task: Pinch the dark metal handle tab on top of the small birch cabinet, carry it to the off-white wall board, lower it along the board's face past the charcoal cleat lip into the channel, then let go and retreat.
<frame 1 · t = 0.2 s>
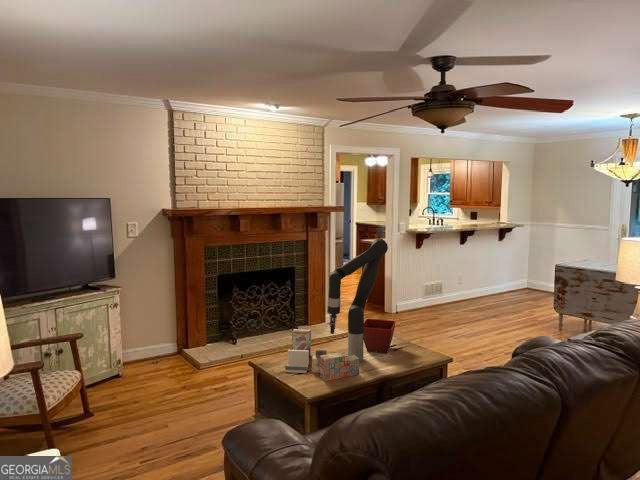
hand: (332, 331, 276), 18 cm above the table, tool pointing down, fingers open, 8 cm apart
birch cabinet: (321, 370, 262), on the table
candy bar box: (301, 356, 284), on the table
stack of blocks: (339, 376, 255), on the table
cleat board: (297, 368, 265), on the table
plant pot: (378, 349, 296), on the table
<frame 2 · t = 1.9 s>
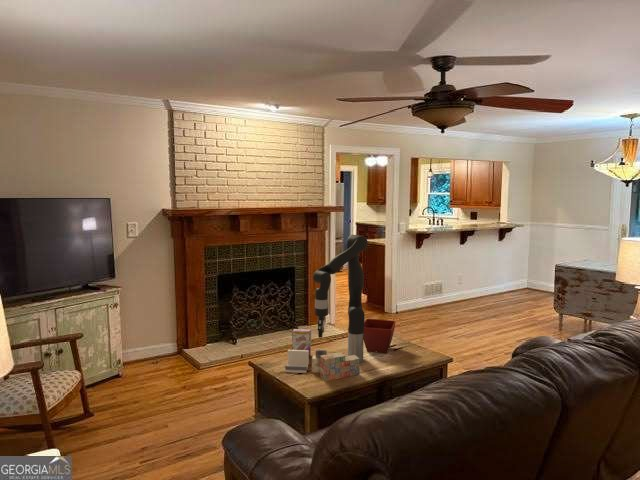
hand: (321, 334, 259), 21 cm above the table, tool pointing down, fingers open, 8 cm apart
nothing on the table moved.
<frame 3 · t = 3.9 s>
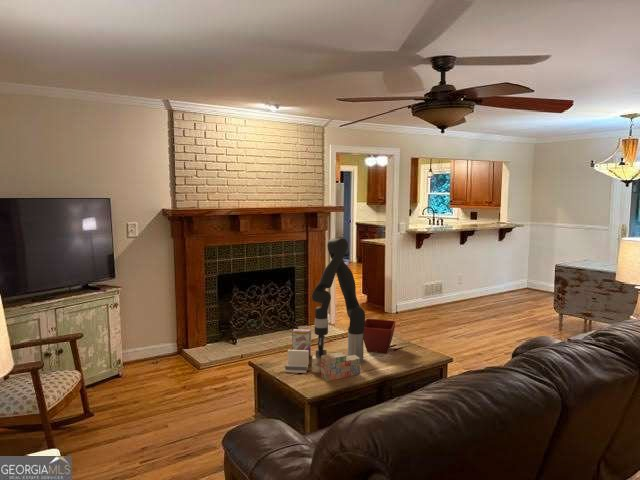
hand: (321, 355, 261), 9 cm above the table, tool pointing down, fingers closed on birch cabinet
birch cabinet: (321, 370, 262), on the table, touching gripper
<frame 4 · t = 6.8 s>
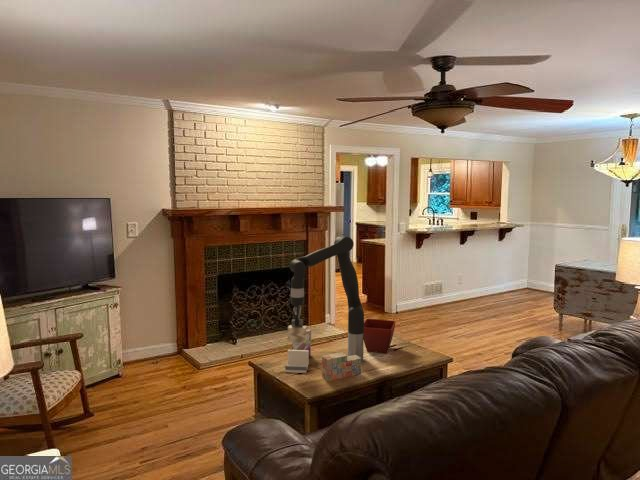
hand: (297, 325, 263), 25 cm above the table, tool pointing down, fingers closed on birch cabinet
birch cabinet: (297, 340, 264), point 16 cm above the table, touching gripper
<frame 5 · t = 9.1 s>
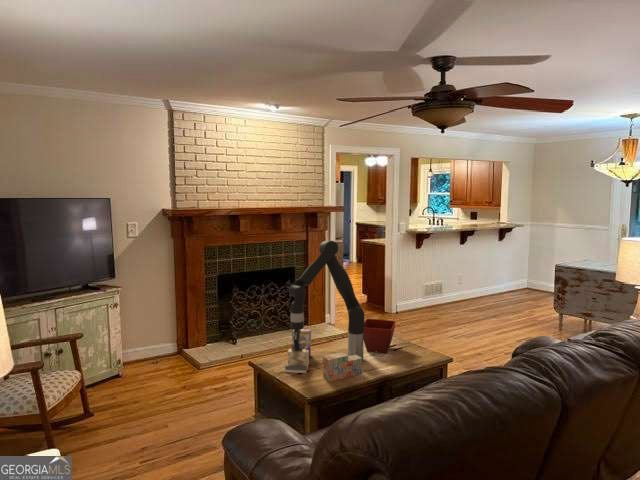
hand: (297, 349, 264), 11 cm above the table, tool pointing down, fingers closed on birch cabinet
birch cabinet: (297, 364, 265), point 2 cm above the table, touching gripper
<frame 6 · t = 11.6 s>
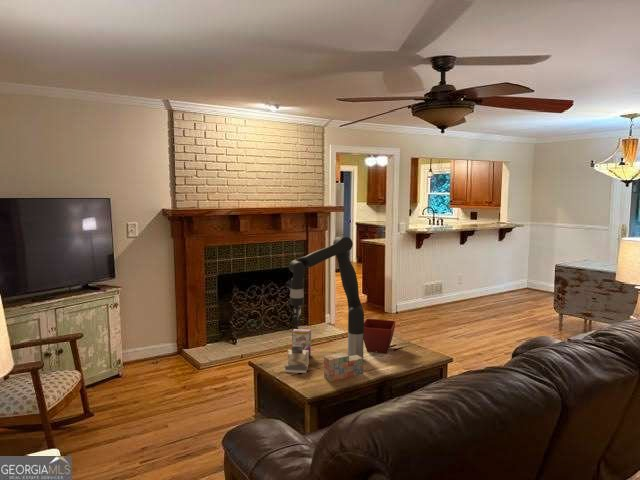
hand: (297, 324, 262), 26 cm above the table, tool pointing down, fingers open, 8 cm apart
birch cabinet: (297, 366, 266), point 1 cm above the table, touching cleat board
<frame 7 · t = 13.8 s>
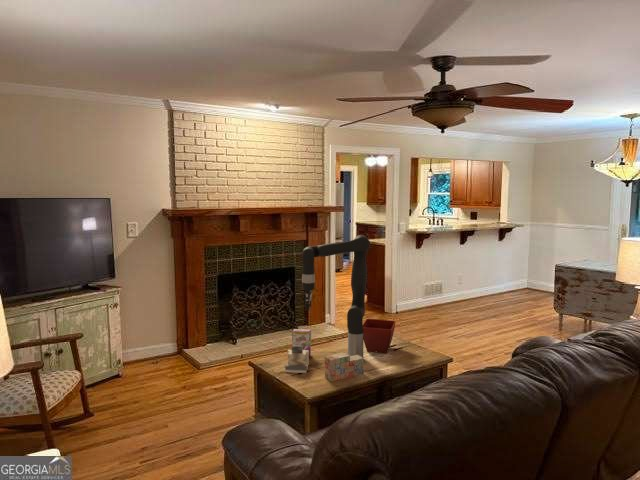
hand: (308, 308, 273), 32 cm above the table, tool pointing down, fingers open, 8 cm apart
at the end: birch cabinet inside the target area on the cleat board (0.0 cm from its centre), point 1.0 cm above the cleat board's base; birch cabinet tilted 0°; the gripper is holding nothing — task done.
